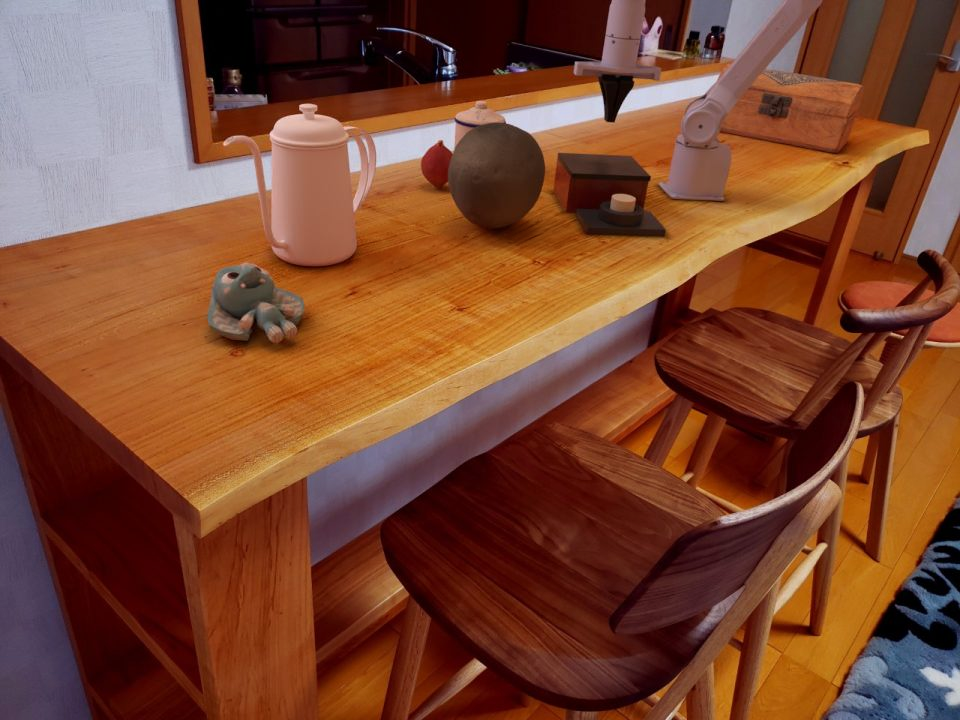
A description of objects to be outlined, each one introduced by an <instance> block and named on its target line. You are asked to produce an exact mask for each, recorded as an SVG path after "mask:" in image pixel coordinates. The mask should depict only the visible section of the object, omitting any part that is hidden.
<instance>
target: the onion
mask: <svg viewBox="0 0 960 720" xmlns="http://www.w3.org/2000/svg"><path fill="white" fill-rule="evenodd" d="M452 155H453V152H452V151H451V149H449V148H448V147H447V146H446V145H445V144H444V140H442V139H439V140H438V141H437V142H436V143H434V145H431V147H429V148H428V149H427V151H426V152H425V153H424V154H423V156H422V158H421V160H420V169H421V174H422V175H423V177H424V178H425V179H426V180H427V182H428V183H430V185H432V186H433V187H434V188H435V189H441V188H443V187H444V186H445V185H446V184H447V183H448V169H449V164H450V161H451V158H452Z"/></svg>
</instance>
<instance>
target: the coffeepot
mask: <svg viewBox="0 0 960 720" xmlns="http://www.w3.org/2000/svg"><path fill="white" fill-rule="evenodd" d="M298 108H299V111H300V112H302V113H298V114H292V115H287V116H283V117H281V118H279V119H278V120H277V121H276V122H275V123H274V126H273V129H271V131H270V132H269V140H270V142H271V211H270V208H269V200H268V194H267V187H266V179H265V174H264V165H263V160H262V159H263V158H262V153H261V151H260V148H259V146H258V144H257V142H256V140H254V139H252V138H251V137H249V136H246V135H232V136H230V137H228V138H226V139H225V140H224V141H223V146H224V147H227V146H231V145H245V146H247V147H248V148H249V149H250V151H251V153H252V157H253V165H254V171H255V177H256V184H257V191H258V199H259V206H260V211H261V218H262V225H263V230H264V235H265V238H266V240H267V242H268V243H269V244H270V246H271V250H272V252H273V253H274V254H275V255H276V256H277V257H278V258H279V259H281V260H282V261H284V262H287V263H289V264H293V265H296V266H302V267H304V266H305V267H324V266H331V265H337V264H339V263H342V262H344V261H346V260H348V259H349V258H351V257H352V256H353V255H354V253H355V252H356V250H357V247H358V240H357V228H356V220H355V215H356V213H357V212H358V211H360V209H361V207H362V205H363V204H364V203H365V200H366V199H367V197H368V194H369V193H370V190H371V188H372V185H373V183H374V178H375V174H376V168H377V149H376V145H375V142H374V139H373V137H372V135H371V134H370V133H369V132H368V130H365V129H364V128H360V127H356V126H351V125H349V126H343V124H342V123H341V122H340V121H339V120H338V119H336V118H333V117H331V116H327V115H323V114H316V112H317V111H318V105H317V104H313V103H302V104H299V105H298ZM353 130H354V131H355V130H357V131H358V132H360V133H361V135H362V136H363V137H364V139H365V142H366V144H365V143H364V141H363V139H362V138H361V137H360V136H359V135H358V134H357V133H355V132H353ZM350 136H351V137H352V138H353V140H354V141H355V143H356V145H357V148H358V152H359V157H360V175H359V176H360V177H359V181H358V186H357V190H356V192H355V195H354V196H353V189H352V188H353V187H352V178H351V168H350V167H351V166H350V155H349V148H348V147H349V146H348V143H349V141H350ZM366 146H367V147H366ZM270 212H271V214H270Z"/></svg>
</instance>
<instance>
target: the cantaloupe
mask: <svg viewBox="0 0 960 720" xmlns="http://www.w3.org/2000/svg"><path fill="white" fill-rule="evenodd" d="M452 154H453V155H452V158H451V161H450V164H449V169H448V182H447V183H448V189H449V192H450V196H451V198H452V200H453V202H454V204H455V206H456V207H457V209H458V211H459V212H460V213H461V214H462V215H463V217H464V218H465V219H466V220H467V221H469V222H470V223H472V224H474V225H475V226H477V227H480V228H484V229H491V230H495V229H500V228H504V227H507V226H509V225H513V224H515V223H517V222H519V221H521V220H522V219H523V218H524V217H526V216H527V214H529V212H531V210H532V209H533V208H534V207H535V206H536V204H537V202H538V200H539V198H540V195H541V194H542V190H543V186H544V182H545V177H546V162H545V156H544V154H543V150H542V148H541V146H540V144H539V143H538V141H537V140H536V139H535V137H533V135H532V134H530V132H528V131H526V130H524V129H522V128H520V127H518V126H515V125H513V124H511V123H507V122H506V123H488V124H483V125H480V126H477V127H475V128H473V129H471V130H470V131H468V132H467V133H466V134H465V135H464V136H463V138H462V139H461V140H460V141H459V142H458V144H457V145H456V147H455V149H454V148H453V152H452Z"/></svg>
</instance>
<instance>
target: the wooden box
mask: <svg viewBox="0 0 960 720" xmlns="http://www.w3.org/2000/svg"><path fill="white" fill-rule="evenodd" d="M731 64H732V63H726V64H725V65H724V67H723V68H722V70H721V72H720V73H719V75H718V77H717V80H716V82H717V81H718V79H719V78H720V77H721V76H722V75H723V73H724V72H725V71H726V70H727V69H728V67H729V66H730V65H731ZM864 91H865V86H864V85H862V84H859V83H853V82H848V81H840V80H836V79H832V78H825V77H820V76H814V75H808V74H801V73H795V72H789V71H783V70H776V69H770V68H765V70H764V71H763V72H762V73H761V74H760V75H759V77H758V78H757V79H756V80H755V81H754V82H753V83H752V85H751V86H750V87H749V88H748V89H747V90H746V92H745V93H744V94H743V95H742V96H741V97H740V99H739V100H738V101H737V103H736V104H735V106H734V107H733V109H732V110H731V112H730V113H729V114H728V116H727V117H726V118H725V119H724V121H723V122H722V125H721V129H720V132H719V133H727V134H732V135H737V136H743V137H747V138H752V139H757V140H763V141H768V142H772V143H773V142H774V143H778V144H783V145H784V144H786V145H791V146H795V147H800V148H805V149H809V150H815V151H820V152H824V153H825V152H827V153H831V154H832V153H833V154H837V153H839V152H840V151H841V150H842V149H843V148H844V146H845V145H846V144H847V143H848V141H849V139H850V136H851V133H852V129H853V126H854V123H855V120H856V117H857V114H858V112H859V107H860V105H861V101H862V99H863V96H864V95H863V94H864Z"/></svg>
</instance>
